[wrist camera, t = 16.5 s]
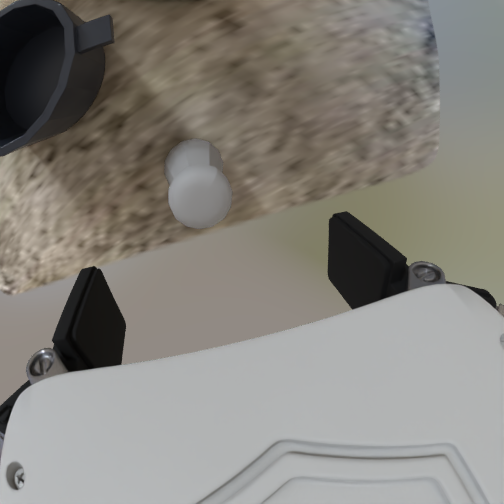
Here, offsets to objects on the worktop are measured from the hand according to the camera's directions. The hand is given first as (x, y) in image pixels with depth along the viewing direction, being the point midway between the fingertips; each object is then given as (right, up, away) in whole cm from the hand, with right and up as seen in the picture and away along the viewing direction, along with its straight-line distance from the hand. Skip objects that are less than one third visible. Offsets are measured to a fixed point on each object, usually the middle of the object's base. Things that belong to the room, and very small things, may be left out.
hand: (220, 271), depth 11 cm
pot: (-20, +19, +8) cm, 29 cm away
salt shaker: (-5, +10, +18) cm, 21 cm away
